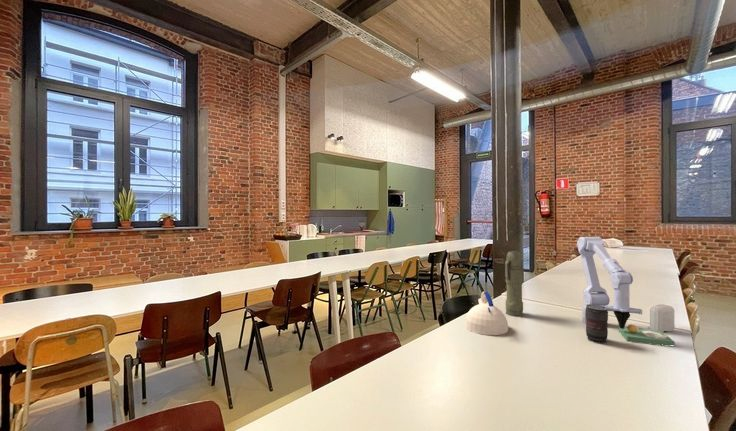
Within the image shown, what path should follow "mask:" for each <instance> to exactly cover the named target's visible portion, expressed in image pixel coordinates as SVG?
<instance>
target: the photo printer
mask: <svg viewBox="0 0 736 431" xmlns="http://www.w3.org/2000/svg"><path fill="white" fill-rule="evenodd" d="M649 330H651V331H660V332H663V333H665V332H664V331H668V332H674V331H675V309H674V307H673V306H672V305H671V306H670V305H667V304H661V303H660V304H656V305H653V306H651V307H650V309H649ZM673 330H674V331H673Z"/></svg>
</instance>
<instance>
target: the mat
mask: <svg viewBox="0 0 736 431" xmlns="http://www.w3.org/2000/svg"><path fill="white" fill-rule="evenodd" d="M618 332H619V333H621V334H620V335H621V336H622V337H623V339H625V341H626V342H630V341H632V342H631V343H638V342H642V343H641V344H647V343H651V344H650V345H655V344H663V345H674V346H675V345H676V344H675V340H673V339H672V338H671V337H669V336H668V335H667V334H665V332H660V331H652V330H651V329H649V330H647V329H642V328H641V329H639V328H638V330H637V332H635V333H632V332H630V331H629V330H628V329H627V327H624V329H621V328H620V327H619V326H618ZM663 345H662V346H663Z"/></svg>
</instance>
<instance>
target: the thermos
mask: <svg viewBox="0 0 736 431" xmlns="http://www.w3.org/2000/svg"><path fill="white" fill-rule="evenodd" d="M523 271H524V270H523V260H522V255H521V252H520V251H518V250H509V251H507V254H506V260H505V263H504V277H505V283H506V284H505V285H506V299H505V314H506V315H508V316H510V317H523V316H524V313H523V312H524V302H523V283H524V279H523V278H524V277H523V276H524V275H523V274H524V273H523Z"/></svg>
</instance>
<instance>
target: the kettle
mask: <svg viewBox="0 0 736 431" xmlns="http://www.w3.org/2000/svg"><path fill="white" fill-rule="evenodd" d="M477 301H478V304H476V305H474V306H472V307H471V308H470V309H469V311H468V312H467V314H466V315H465V324H464V327H465V328H466V329H467V330H469V331H470V332H472V333H475V334H479V335H483V336H500V335H501V336H502V335H505V334H507V333H508V332H509V325H508V324H509V323H508V320H507V317H506V315H505V314H504V312H503V311H502V310H501V309H499V308H498V307H497V306H495V305H494V302H493V299H492V297H491V294H490V293H489V292H488V291H482V293H481V295H480V298H478V299H477Z"/></svg>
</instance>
